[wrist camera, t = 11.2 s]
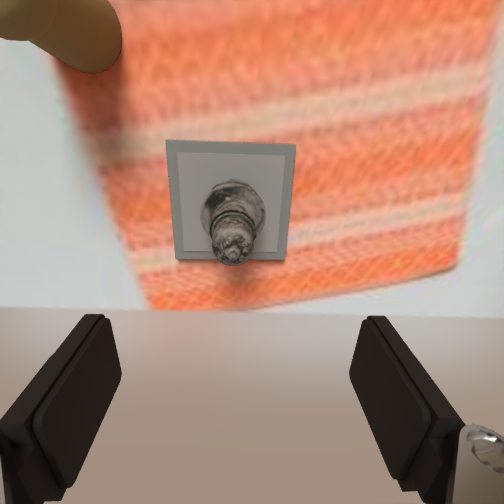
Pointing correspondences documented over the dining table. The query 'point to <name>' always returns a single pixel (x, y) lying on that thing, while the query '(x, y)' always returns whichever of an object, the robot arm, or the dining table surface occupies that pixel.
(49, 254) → the dining table surface
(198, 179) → the coaster
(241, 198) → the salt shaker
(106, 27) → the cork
